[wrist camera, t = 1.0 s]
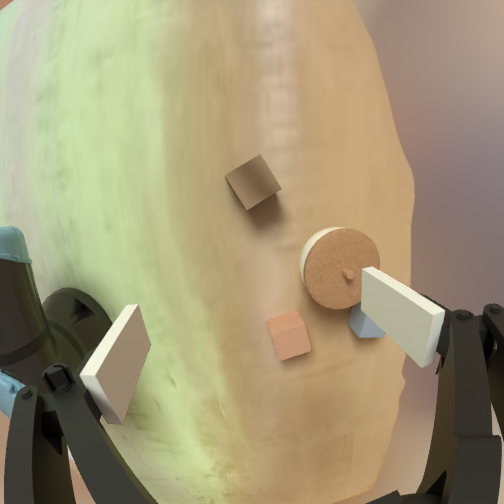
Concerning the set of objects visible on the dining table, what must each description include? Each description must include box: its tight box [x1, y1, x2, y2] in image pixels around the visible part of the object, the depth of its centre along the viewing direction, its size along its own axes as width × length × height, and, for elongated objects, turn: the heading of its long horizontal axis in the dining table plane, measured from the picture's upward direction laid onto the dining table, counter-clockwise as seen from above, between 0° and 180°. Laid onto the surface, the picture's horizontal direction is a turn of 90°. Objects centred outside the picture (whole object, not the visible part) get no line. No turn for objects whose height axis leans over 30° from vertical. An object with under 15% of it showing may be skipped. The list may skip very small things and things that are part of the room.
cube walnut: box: [225, 155, 281, 210], centre depth 35 cm, size 5×5×5 cm
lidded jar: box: [299, 227, 380, 309], centre depth 36 cm, size 11×11×9 cm
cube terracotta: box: [267, 310, 311, 361], centre depth 40 cm, size 5×5×5 cm
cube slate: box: [347, 301, 385, 338], centre depth 41 cm, size 5×5×5 cm
